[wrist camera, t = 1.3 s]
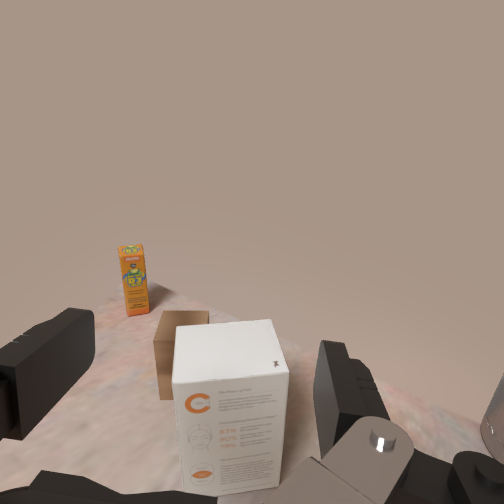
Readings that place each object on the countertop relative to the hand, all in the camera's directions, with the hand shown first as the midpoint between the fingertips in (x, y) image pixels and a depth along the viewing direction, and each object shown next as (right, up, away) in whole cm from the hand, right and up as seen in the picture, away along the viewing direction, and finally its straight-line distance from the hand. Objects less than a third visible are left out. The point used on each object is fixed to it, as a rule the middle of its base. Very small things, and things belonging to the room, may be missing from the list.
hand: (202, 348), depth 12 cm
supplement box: (-15, -5, +40) cm, 43 cm away
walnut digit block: (-6, -11, +27) cm, 30 cm away
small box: (0, -16, +19) cm, 25 cm away
